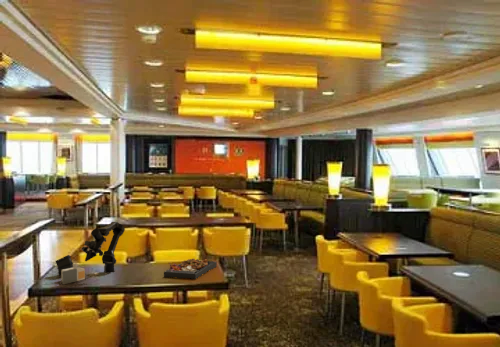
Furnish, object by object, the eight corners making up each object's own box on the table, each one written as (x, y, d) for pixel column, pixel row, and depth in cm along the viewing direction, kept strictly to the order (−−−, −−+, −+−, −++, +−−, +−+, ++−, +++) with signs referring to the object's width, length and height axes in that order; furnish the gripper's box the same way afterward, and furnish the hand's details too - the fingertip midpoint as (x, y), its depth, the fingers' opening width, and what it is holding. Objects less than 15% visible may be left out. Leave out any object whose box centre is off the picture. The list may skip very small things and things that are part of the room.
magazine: (75, 274, 361) (67, 255, 361) (60, 281, 363) (52, 262, 364) (78, 273, 364) (70, 254, 365) (63, 280, 367) (55, 261, 368)
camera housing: (76, 277, 359) (76, 266, 358) (85, 279, 353) (85, 268, 353) (60, 280, 348) (59, 270, 347) (69, 282, 342) (69, 272, 342)
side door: (75, 280, 347) (75, 264, 347) (77, 281, 345) (77, 264, 345) (61, 283, 338) (61, 266, 337) (64, 284, 336) (64, 267, 336)
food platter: (195, 280, 353) (195, 265, 353) (163, 277, 360) (163, 263, 360) (216, 267, 397) (216, 254, 397) (187, 265, 403) (187, 252, 403)
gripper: (83, 235, 362) (70, 253, 353) (99, 237, 351) (86, 255, 342) (92, 244, 368) (80, 262, 360) (108, 246, 357) (96, 264, 349)
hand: (85, 261), depth 353 cm, fingers closed
